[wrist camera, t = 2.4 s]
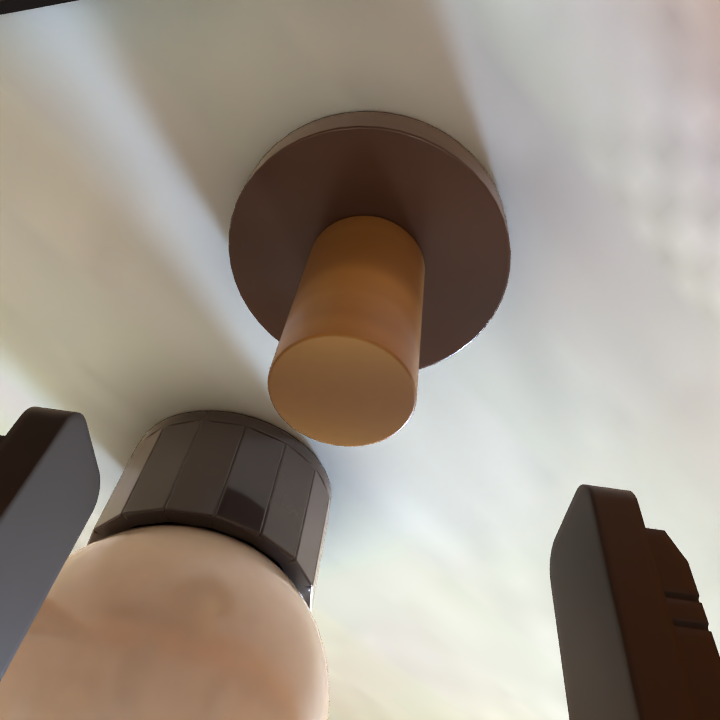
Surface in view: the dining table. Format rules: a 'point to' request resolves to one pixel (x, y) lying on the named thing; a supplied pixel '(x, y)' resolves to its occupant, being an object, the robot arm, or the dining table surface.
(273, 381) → the knob on round base
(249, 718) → the ball
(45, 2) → the phone
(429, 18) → the dining table surface
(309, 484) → the stand
